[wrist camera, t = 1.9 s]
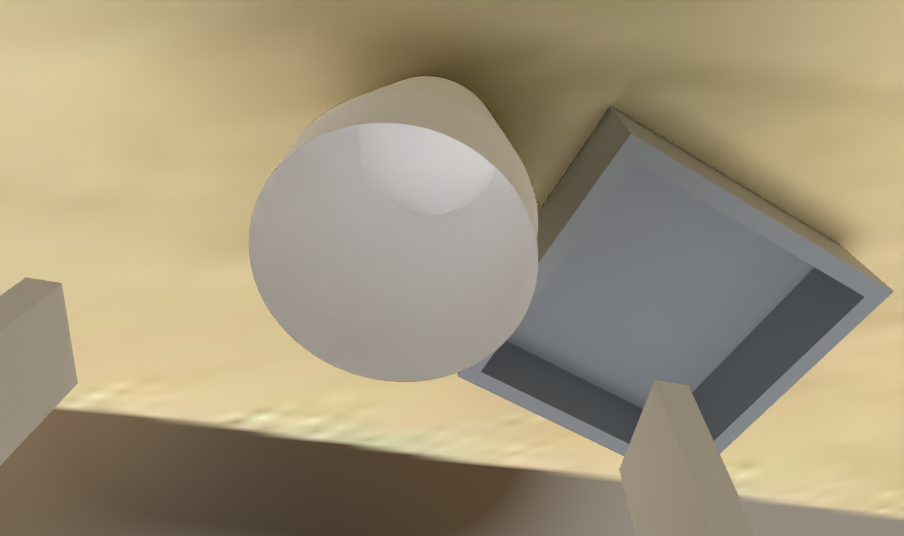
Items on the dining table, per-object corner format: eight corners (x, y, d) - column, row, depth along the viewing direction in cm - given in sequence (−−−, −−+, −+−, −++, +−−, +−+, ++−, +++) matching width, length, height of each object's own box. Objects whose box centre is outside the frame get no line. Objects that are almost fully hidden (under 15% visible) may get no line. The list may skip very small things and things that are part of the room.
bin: (610, 106, 28) (630, 133, 24) (840, 245, 30) (893, 291, 26) (461, 324, 33) (457, 376, 30) (664, 425, 36) (685, 485, 32)
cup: (536, 55, 27) (567, 129, 16) (513, 242, 31) (524, 397, 20) (331, 38, 27) (227, 102, 16) (335, 226, 31) (255, 373, 21)
